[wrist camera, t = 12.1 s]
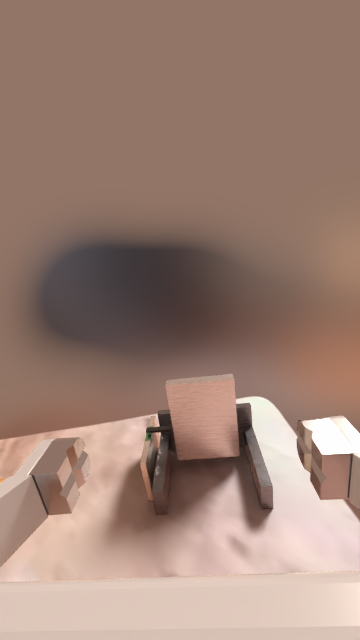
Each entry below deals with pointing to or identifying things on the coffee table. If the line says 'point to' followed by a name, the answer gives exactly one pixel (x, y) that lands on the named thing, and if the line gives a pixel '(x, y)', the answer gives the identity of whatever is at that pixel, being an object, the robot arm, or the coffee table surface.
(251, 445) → the gauge housing
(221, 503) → the coffee table surface
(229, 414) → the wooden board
